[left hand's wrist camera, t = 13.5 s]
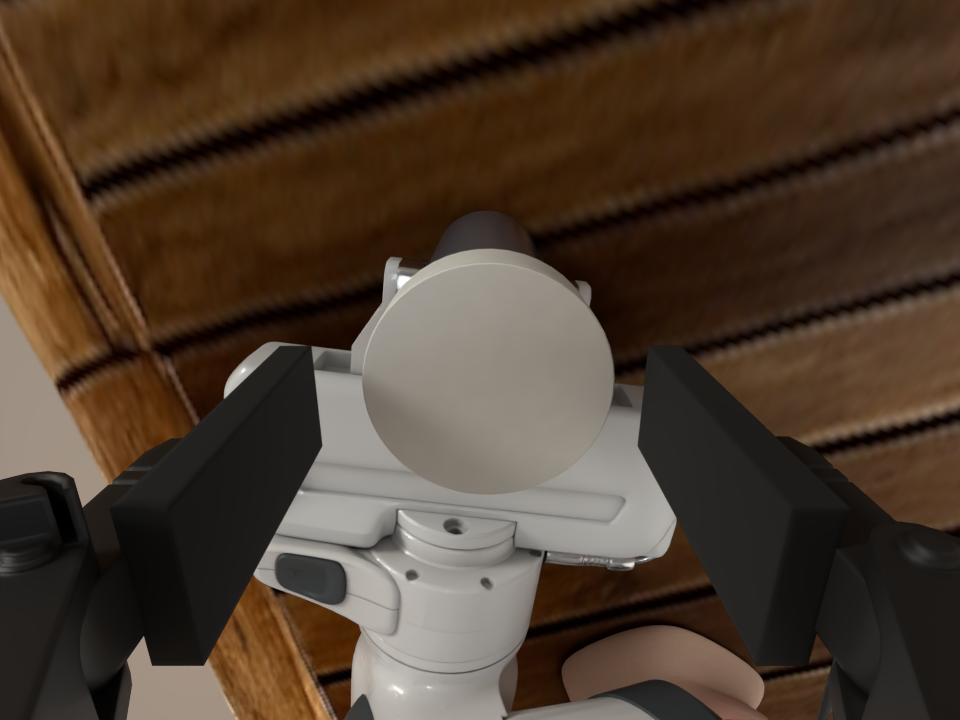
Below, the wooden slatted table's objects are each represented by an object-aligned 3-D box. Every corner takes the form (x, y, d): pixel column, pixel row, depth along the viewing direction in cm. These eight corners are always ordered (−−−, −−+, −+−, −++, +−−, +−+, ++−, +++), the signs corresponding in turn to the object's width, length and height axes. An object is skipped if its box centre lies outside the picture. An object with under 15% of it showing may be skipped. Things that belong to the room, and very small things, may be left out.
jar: (541, 212, 27) (605, 282, 13) (533, 315, 29) (581, 475, 15) (435, 208, 27) (380, 273, 13) (434, 311, 29) (385, 468, 15)
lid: (612, 252, 14) (631, 267, 13) (587, 461, 17) (599, 499, 15) (372, 243, 14) (356, 257, 12) (379, 453, 16) (365, 491, 15)
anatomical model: (537, 738, 35) (683, 639, 32) (532, 681, 38) (662, 588, 36) (671, 833, 38) (815, 752, 35) (654, 772, 42) (783, 694, 39)
